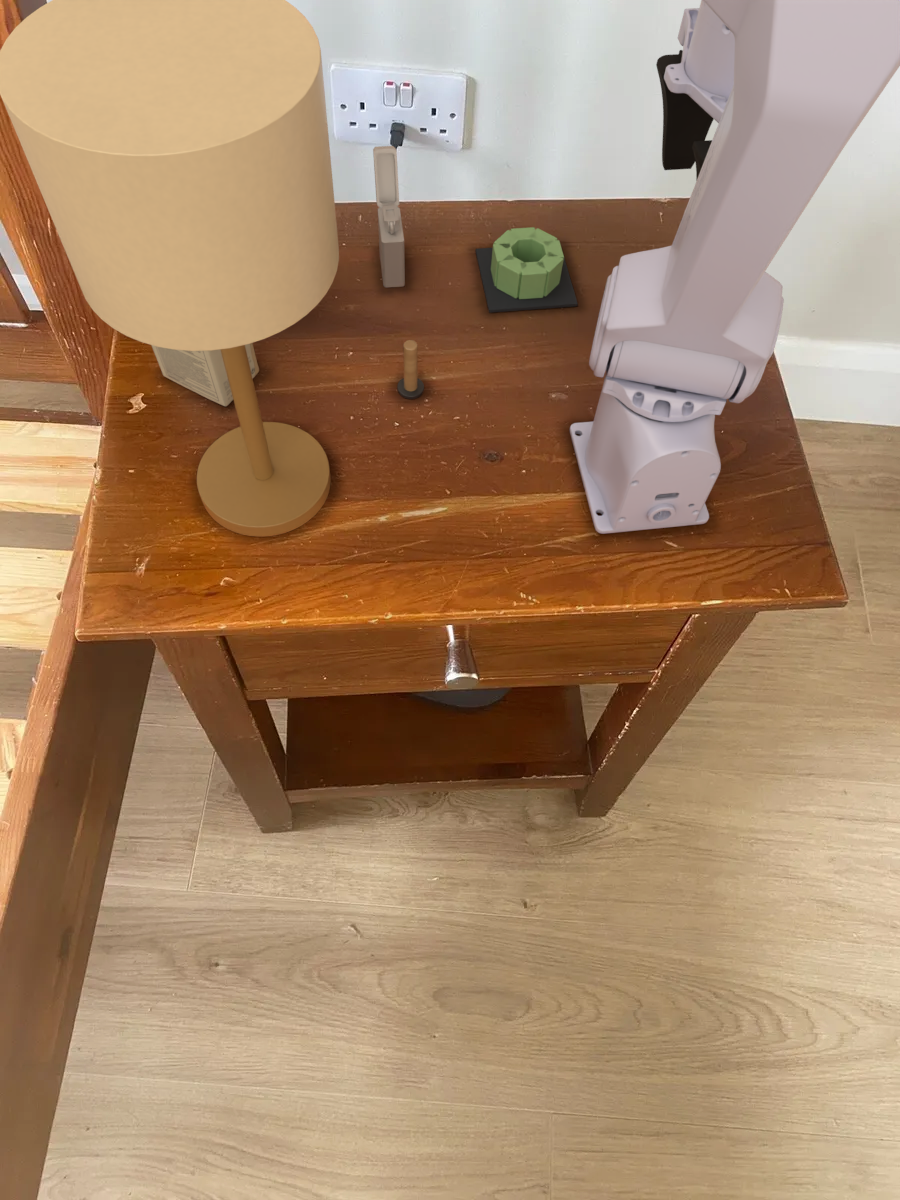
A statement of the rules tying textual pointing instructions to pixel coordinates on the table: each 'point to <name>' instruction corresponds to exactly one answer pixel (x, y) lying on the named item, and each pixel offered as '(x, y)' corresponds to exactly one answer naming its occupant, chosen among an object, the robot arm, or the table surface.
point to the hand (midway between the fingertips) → (690, 200)
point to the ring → (526, 263)
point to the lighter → (389, 216)
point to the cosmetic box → (201, 371)
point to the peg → (410, 373)
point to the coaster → (504, 302)
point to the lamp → (191, 200)
